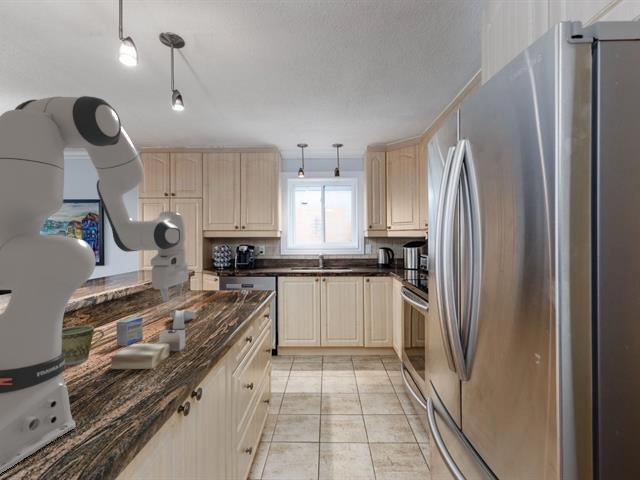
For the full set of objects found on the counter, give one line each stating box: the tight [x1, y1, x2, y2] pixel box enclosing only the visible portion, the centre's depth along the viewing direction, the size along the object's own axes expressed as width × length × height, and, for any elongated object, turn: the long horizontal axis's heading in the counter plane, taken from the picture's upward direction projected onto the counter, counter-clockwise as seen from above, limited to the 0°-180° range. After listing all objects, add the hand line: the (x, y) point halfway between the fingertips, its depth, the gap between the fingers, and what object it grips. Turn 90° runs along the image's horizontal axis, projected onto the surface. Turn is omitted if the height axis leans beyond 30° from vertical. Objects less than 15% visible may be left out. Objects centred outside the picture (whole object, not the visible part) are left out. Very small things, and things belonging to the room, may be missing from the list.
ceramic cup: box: [62, 325, 105, 367], centre depth 100 cm, size 13×10×10 cm
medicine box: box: [115, 316, 144, 347], centre depth 118 cm, size 8×4×9 cm, turn 168°
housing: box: [158, 329, 186, 352], centre depth 111 cm, size 4×7×6 cm, turn 90°
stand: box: [110, 343, 171, 370], centre depth 99 cm, size 11×12×4 cm
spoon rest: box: [169, 309, 197, 330], centre depth 147 cm, size 24×12×7 cm, turn 18°
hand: (172, 298), depth 112 cm, fingers open, 8 cm apart
